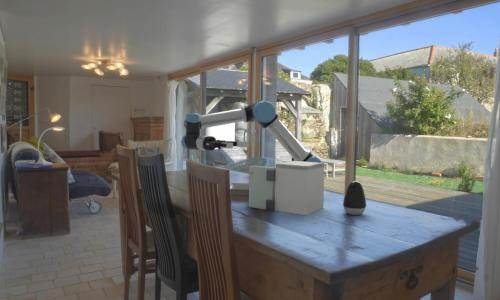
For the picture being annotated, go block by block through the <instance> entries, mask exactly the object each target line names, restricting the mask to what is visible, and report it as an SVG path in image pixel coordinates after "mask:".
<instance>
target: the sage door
mask: <svg viewBox="0 0 500 300" xmlns="http://www.w3.org/2000/svg"><path fill="white" fill-rule="evenodd" d="M248 170H249V172H248V173H249V174H248V176H249V177H248V178H249V179H248V181H249V182H248V183H249V185H248V189H249V190H248V207H249V208H256V209H261V210H266V200H267V199H269V200H274V199H275V181H266V172H267V170H276V166H275V167H273V166H272V167H271V166H262V165H249V169H248Z"/></svg>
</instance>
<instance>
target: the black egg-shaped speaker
mask: <svg viewBox="0 0 500 300" xmlns="http://www.w3.org/2000/svg"><path fill="white" fill-rule="evenodd" d="M365 194H366V193H365V190H364V188H363V186H362V184H361V183H360V181H358V180H352V181H351V182H350V183H349V184H348V186H347V188H346V191H345V193H344V197H343V202H342V206H343V209H344V211H345V212H346V213H347V215H351V216H360V215H363V213H364V212H365V210H366V208H367V199H366V195H365Z"/></svg>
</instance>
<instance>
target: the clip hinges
mask: <svg viewBox="0 0 500 300" xmlns="http://www.w3.org/2000/svg"><path fill="white" fill-rule="evenodd" d="M275 172H276V170H267V172H266V181H275ZM265 211H268V212H276V211H275V199H274V200H269V199H267V200H266V209H265Z"/></svg>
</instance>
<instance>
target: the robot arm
mask: <svg viewBox="0 0 500 300" xmlns="http://www.w3.org/2000/svg"><path fill="white" fill-rule="evenodd" d="M241 122H243V123H254V122H255V123H258V124H259V125H260V126H261V127H262V128H263V130H268V131H269V133H271V135H272V136H273V137H274V139H276V141H277V142H278V143H279V144H280V146H282V147H283V149H285V150H286V152H287V153H288V154H289V155H290V156H291V161H304V162H318V163H323V162H322V160H321V159H320V158H319V157H317V156H315V155H314V154H313V153H312V151H311V150H310V149H305V147H304V146H303V145H302V144H301V143H300V141H299V140H298V139H297V138H296V137H295V136H294V135H293V133H292V132H291V131H290V130H289V129H288V128H287V126H285V124H284V123H283V122H282V121H281V120H280V115H279V113H278V112H277V110H276V107H275V106H274V104H273V103H272V102H270V101H267V100H259V101H255V102H253V103H250V104H247V105H244V106H243V105H242V106H241V107H240V108H235V109H231V110H224V111H218V112H214V113H213V112H212V113H208V114H200V113H193V112H192V113H191V112H190V113H189V112H188V113H186V114H185V119H184V121H183V126H184V128H185V135H183V136H182V137H181V138H182V139H181V141H180V143H181V146H182V147H183V149H186V150H190V151H191V150H194V151H195V150H196V151H199V150H200V151H201V152H204V151H211V152H212V151H215V149H218V150H221V149H233V148H234V147H239V148H249V141H239V139H237V140H232V141H231V140H225V139H224V140H220V139H216V137H215V136H212V135H211V136H210V135H209V136H208V135H201V129H207V128H212V127H217V126H224V125H229V124H235V123H241Z"/></svg>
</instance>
